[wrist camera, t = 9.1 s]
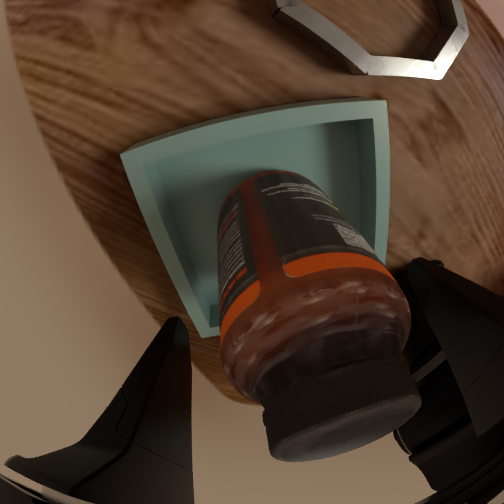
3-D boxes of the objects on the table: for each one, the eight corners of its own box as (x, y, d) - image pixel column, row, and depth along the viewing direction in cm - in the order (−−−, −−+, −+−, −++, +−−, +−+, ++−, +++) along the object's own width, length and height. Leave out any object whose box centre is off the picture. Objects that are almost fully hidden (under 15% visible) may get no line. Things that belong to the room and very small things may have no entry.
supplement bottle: (226, 272, 16) (241, 477, 7) (208, 175, 13) (185, 425, 3) (325, 257, 16) (407, 436, 7) (328, 161, 13) (498, 336, 3)
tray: (365, 271, 18) (380, 295, 16) (202, 310, 18) (201, 338, 16) (360, 96, 12) (386, 100, 10) (136, 142, 12) (119, 154, 10)
